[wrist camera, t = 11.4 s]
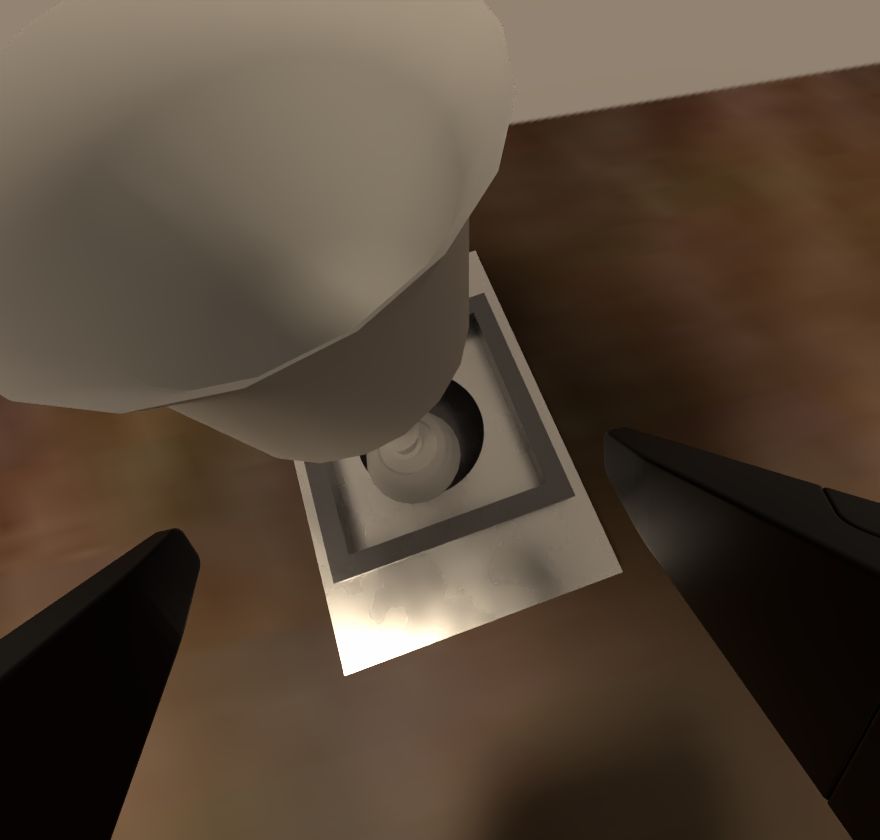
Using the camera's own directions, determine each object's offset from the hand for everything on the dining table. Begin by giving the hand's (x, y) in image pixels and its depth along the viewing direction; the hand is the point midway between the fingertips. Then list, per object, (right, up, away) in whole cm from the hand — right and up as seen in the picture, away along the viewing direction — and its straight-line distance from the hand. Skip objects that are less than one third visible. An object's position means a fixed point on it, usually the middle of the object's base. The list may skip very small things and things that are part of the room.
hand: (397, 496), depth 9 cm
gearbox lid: (0, +1, +15) cm, 14 cm away
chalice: (-1, 0, +13) cm, 13 cm away
